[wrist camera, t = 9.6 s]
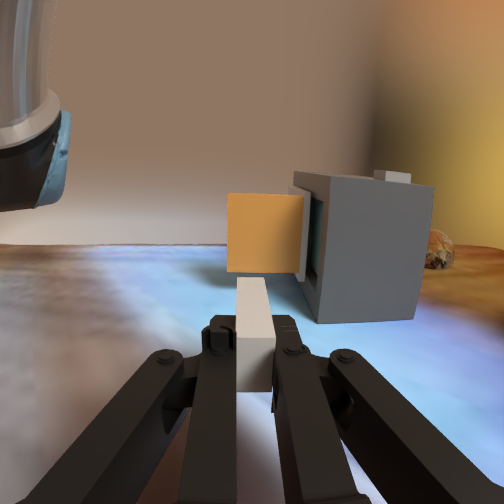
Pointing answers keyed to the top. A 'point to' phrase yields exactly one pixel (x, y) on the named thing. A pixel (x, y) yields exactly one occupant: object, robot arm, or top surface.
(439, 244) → the bread roll
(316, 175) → the box
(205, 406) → the robot arm
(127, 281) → the top surface
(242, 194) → the door
